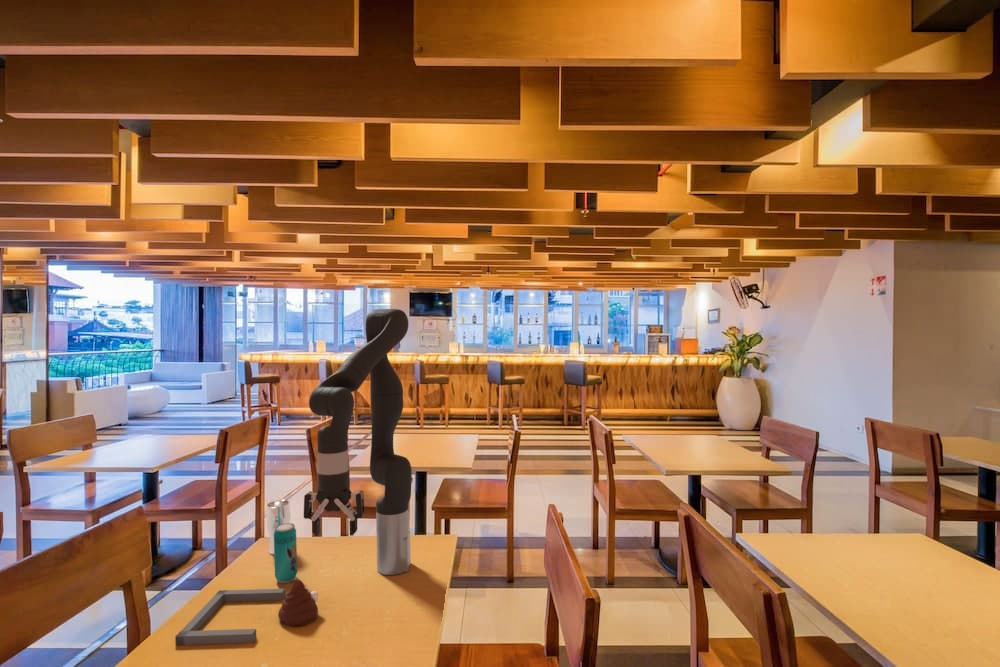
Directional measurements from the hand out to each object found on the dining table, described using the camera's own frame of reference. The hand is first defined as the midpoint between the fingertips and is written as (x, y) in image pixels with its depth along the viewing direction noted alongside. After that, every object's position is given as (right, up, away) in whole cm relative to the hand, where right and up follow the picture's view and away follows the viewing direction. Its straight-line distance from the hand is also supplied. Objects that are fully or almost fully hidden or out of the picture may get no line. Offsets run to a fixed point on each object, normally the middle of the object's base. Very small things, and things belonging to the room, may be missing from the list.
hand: (335, 534), depth 130 cm
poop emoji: (-9, -21, 0) cm, 22 cm away
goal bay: (-24, -20, 0) cm, 31 cm away
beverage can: (-20, -20, +19) cm, 34 cm away
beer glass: (-29, -19, +38) cm, 51 cm away
